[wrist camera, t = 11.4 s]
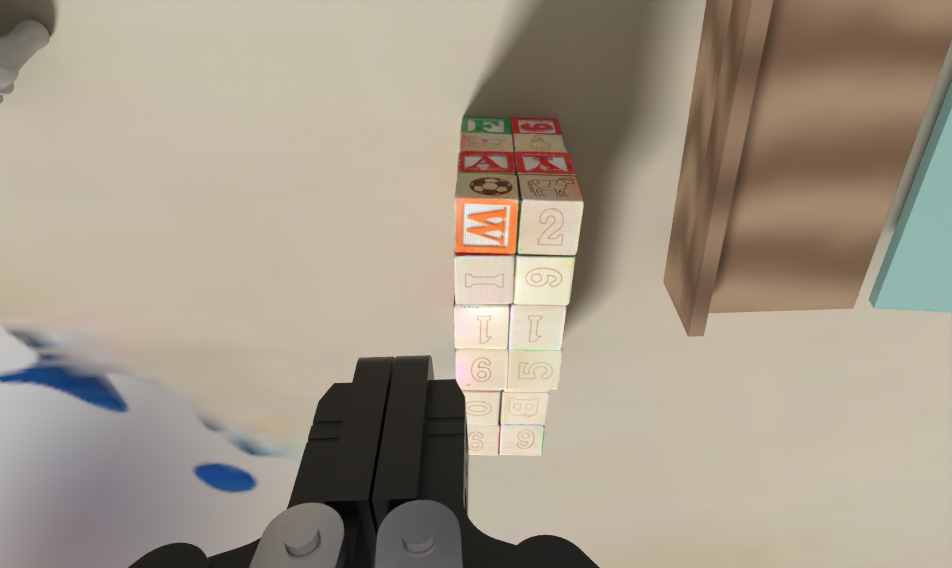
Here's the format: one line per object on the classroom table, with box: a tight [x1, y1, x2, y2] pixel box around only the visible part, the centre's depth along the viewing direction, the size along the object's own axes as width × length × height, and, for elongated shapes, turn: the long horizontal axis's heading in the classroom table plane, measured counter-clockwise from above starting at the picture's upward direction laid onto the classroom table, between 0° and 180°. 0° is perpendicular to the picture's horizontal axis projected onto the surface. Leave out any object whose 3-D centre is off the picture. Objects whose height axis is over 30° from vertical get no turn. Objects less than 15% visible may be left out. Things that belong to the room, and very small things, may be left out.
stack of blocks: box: [454, 117, 584, 455], centre depth 40 cm, size 21×6×12 cm, turn 178°
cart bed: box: [664, 0, 952, 336], centre depth 38 cm, size 22×12×6 cm, turn 2°
